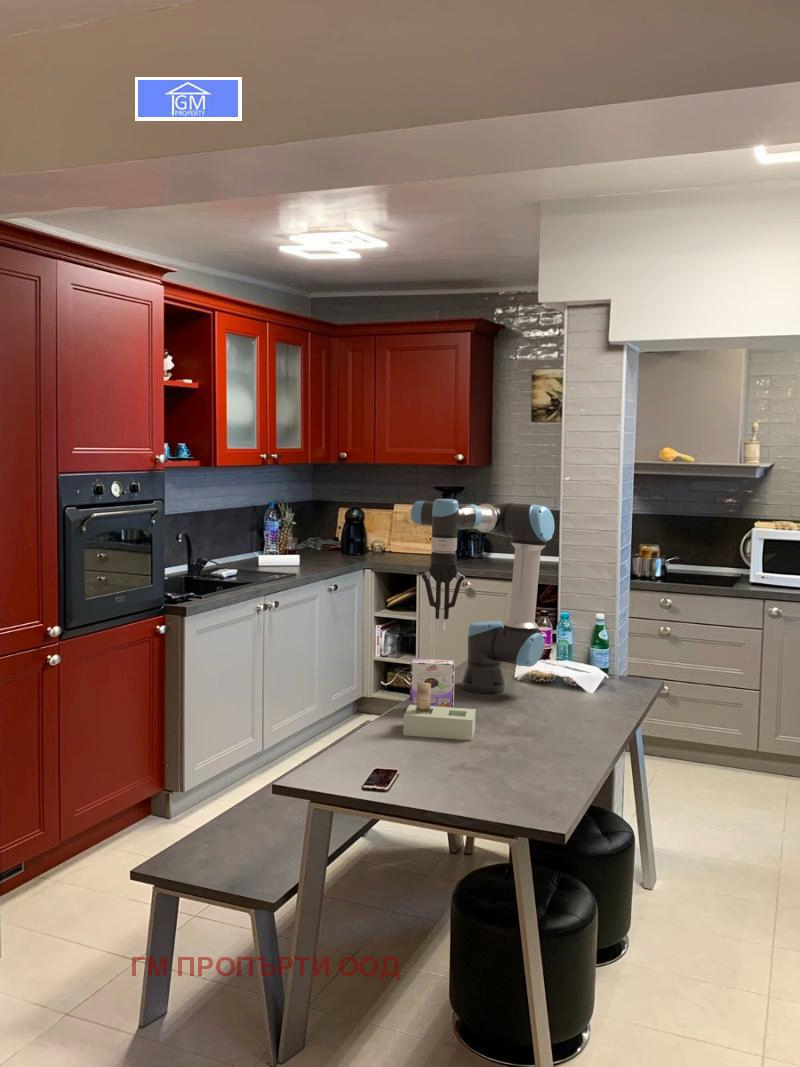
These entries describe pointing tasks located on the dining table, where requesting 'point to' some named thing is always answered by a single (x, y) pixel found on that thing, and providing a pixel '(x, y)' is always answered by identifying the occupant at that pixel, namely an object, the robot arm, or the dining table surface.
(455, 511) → the robot arm
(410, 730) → the pale green holed block
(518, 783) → the dining table surface
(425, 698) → the dowel
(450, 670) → the candy box
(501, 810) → the dining table surface
